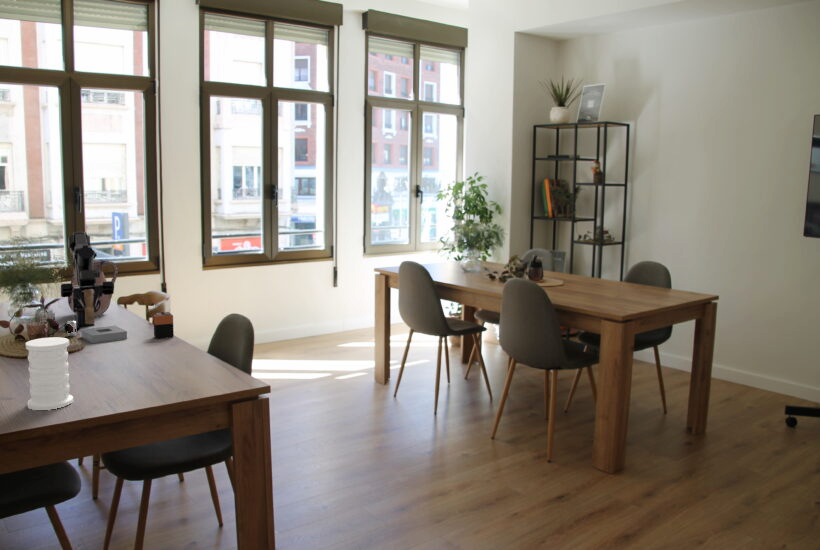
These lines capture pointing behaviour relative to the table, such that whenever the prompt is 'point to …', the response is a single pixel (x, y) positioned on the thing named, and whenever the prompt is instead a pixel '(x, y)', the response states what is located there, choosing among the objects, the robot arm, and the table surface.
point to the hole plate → (104, 334)
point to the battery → (163, 325)
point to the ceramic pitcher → (104, 299)
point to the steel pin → (73, 324)
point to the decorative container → (48, 373)
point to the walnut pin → (89, 306)
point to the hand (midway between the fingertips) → (89, 306)
